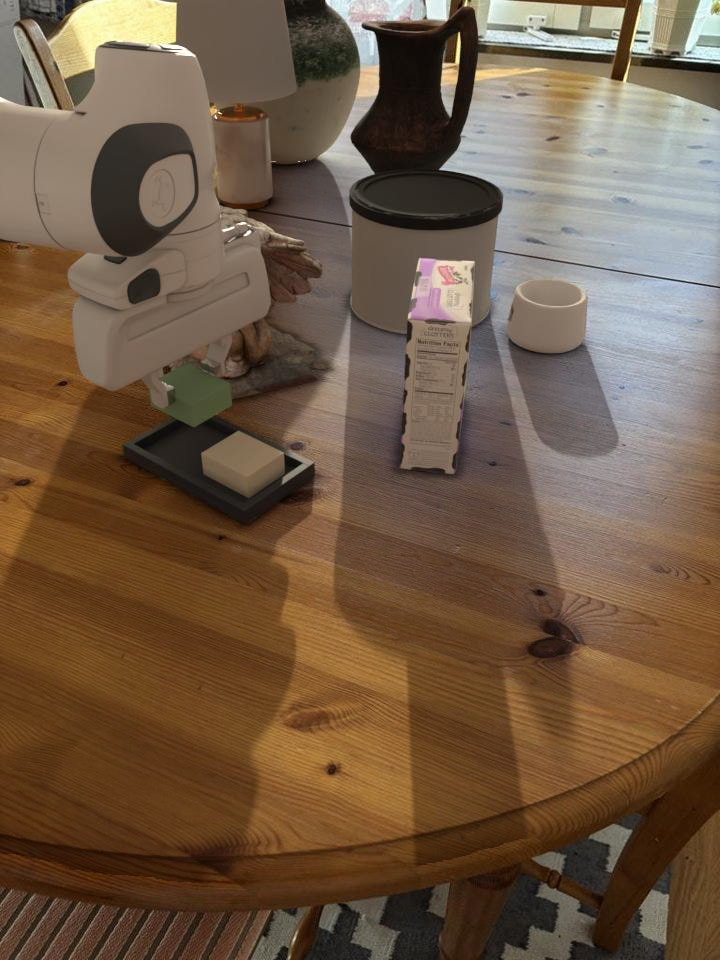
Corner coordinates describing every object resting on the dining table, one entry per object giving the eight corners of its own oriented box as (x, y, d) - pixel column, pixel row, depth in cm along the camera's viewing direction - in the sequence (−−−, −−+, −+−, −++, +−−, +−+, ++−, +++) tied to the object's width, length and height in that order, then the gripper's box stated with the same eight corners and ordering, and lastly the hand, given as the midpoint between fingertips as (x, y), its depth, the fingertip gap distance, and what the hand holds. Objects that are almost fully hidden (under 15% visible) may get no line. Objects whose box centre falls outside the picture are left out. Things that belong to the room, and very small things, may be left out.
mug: (585, 359, 103) (594, 313, 99) (504, 352, 104) (509, 306, 100) (581, 315, 112) (589, 272, 109) (506, 309, 113) (512, 266, 110)
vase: (365, 139, 177) (368, -29, 160) (351, 183, 155) (352, -8, 137) (230, 134, 179) (218, -32, 162) (196, 176, 157) (177, -12, 139)
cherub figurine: (145, 339, 105) (123, 193, 95) (284, 314, 111) (278, 174, 101) (183, 410, 92) (163, 250, 82) (337, 377, 98) (337, 224, 88)
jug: (327, 199, 147) (326, 1, 130) (387, 173, 160) (393, -12, 142) (433, 226, 138) (447, 15, 120) (487, 195, 150) (508, 1, 132)
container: (385, 266, 125) (388, 160, 116) (509, 291, 118) (523, 181, 109) (323, 317, 111) (322, 201, 102) (461, 349, 104) (472, 228, 95)
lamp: (219, 179, 156) (201, -39, 135) (316, 191, 151) (312, -33, 130) (166, 212, 141) (137, -26, 121) (272, 228, 136) (259, -18, 116)
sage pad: (194, 427, 79) (191, 404, 78) (150, 406, 82) (147, 383, 81) (232, 405, 82) (230, 382, 81) (189, 385, 85) (186, 363, 84)
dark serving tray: (245, 525, 77) (244, 511, 76) (124, 457, 85) (122, 444, 84) (315, 475, 83) (314, 462, 82) (195, 417, 91) (194, 404, 90)
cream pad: (248, 498, 79) (247, 477, 78) (203, 474, 82) (200, 453, 81) (285, 474, 82) (284, 452, 81) (240, 451, 85) (238, 430, 84)
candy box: (410, 397, 95) (418, 255, 85) (463, 402, 94) (477, 259, 85) (397, 470, 84) (404, 316, 74) (457, 475, 83) (473, 321, 74)
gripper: (232, 209, 81) (243, 340, 89) (48, 277, 68) (81, 424, 76) (282, 224, 78) (288, 359, 86) (99, 299, 65) (127, 449, 73)
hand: (189, 390), depth 81 cm, fingers closed on sage pad, 5 cm apart
